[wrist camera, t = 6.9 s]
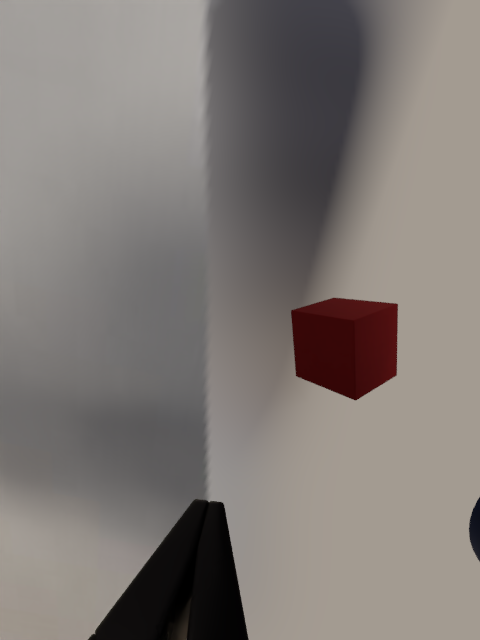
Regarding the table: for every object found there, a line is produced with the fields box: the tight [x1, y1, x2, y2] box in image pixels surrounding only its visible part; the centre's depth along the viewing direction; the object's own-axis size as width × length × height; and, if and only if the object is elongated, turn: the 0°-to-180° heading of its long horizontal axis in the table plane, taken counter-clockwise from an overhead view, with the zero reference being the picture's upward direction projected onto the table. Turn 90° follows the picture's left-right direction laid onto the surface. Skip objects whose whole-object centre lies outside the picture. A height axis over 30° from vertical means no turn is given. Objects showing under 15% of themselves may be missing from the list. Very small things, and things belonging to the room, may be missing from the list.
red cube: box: [291, 298, 398, 400], centre depth 20 cm, size 5×5×5 cm
